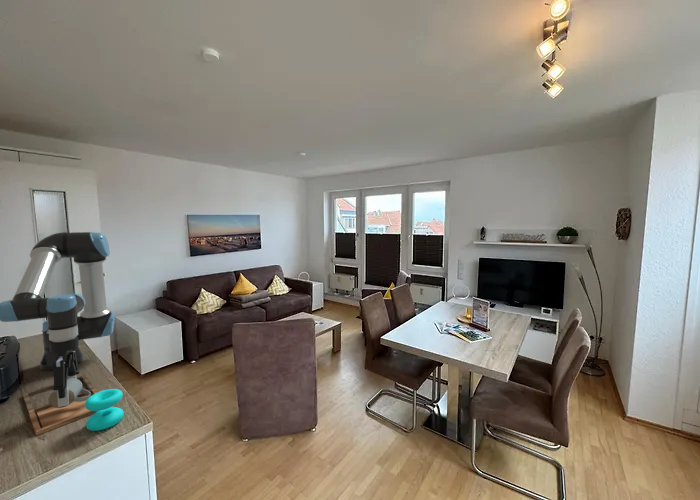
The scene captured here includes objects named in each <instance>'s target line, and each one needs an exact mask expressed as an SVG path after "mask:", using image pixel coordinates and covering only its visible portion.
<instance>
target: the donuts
mask: <svg viewBox="0 0 700 500" xmlns="http://www.w3.org/2000/svg"><path fill="white" fill-rule="evenodd" d="M91 395H92V396H90V397H89V398H88V399H87V400H86V402H85V408H86V409H88V410H90V411H98V412H96V413H94V414H91V415H90V416H89V418H88V419H87V420H86V424H85V427H86V429H87V430H89V431H93V432H95V431H96V432H98V431H105V430H106V429H110V428H112V427H113V426H116V425H117V424H118V423H120V422H121V420H122V419H123V418H124V415H125V413H124V410H123V409H122V408H120V407H116V405H117V404H118V403H120V401H121V400H122V398H123V397H124V393H123V391H122V390H121V389H118V388H110V389H109V388H108V389H103V390H100V391H98V393H95V394H94V395H93V394H91Z"/></svg>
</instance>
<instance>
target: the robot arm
mask: <svg viewBox="0 0 700 500" xmlns="http://www.w3.org/2000/svg"><path fill="white" fill-rule="evenodd" d="M109 256H110V244H109V241H108V238H107V235H105V234H104V233H103V232H94V231H85V232H80V231H79V232H75V231H74V232H67V231H66V232H56V233H53V234H50V235H48V236H45V238H43V239H40V241H38V242H37V243H36V244H35V245H34V246H33V247H32V249H31V251H30V253H29V257H30V261H29V263H28V265H27V268H26V269H25V272H24V274H23V275H22V278H21V280H20V283H19V284H18V287H17V289H16V291H15V293H14V295H13V297H12V299H8V300H4V301H1V302H0V322H3V323H8V322H21V321H29V320H31V321H32V320H37V319H38V320H39V319H46V320H44V322H43V323H42V330H41V332H42V340H43V343H42V344H43V354H42V357H41V359H40V363H39V370H41V371H45V372H46V371H53V384H54V388H53V389H52V391H55V390H57V399H58V407H61V406H66V405H69V393H68V386H67V378H75V379H77V377H78V376H77V375H80V370H79V366H78V365H79V363H80V362H82V361H83V360H84V353H83V352H82V350H81V348H80V346H79V345H80V341H82V340H84V341H85V340H91V339H97V338H98V339H99V338H103V337H109V336H111V335H112V334H113V332H114V329H115V323H116V322H115V321H116V313H115V312H114V311H111V308H109V307H108V306H107V299H106V298H107V297H106V288H105V278H104V277H105V276H104V268H103V266H104V265H103V263H104V262H105V261H106V260H107V257H109ZM64 258H65V259H66V258H68V259H69V258H71V259H72V258H73V262H74V263H75V264H76V265H78V271H79V278H80V288H81V294H78V293H68V294H66V293H65V294H57V295H53V296H50V297H44V295H45V293H46V290H47V289H48V285H49V282H50V279H51V277H52V276H53V275H52V274H53V272H54V269H55V267H56V264H57V263H60V261H61V260H62V259H64ZM82 310H83V311H82ZM81 311H82V312H81ZM80 312H81V313H80ZM78 313H80V315H79V316H78Z"/></svg>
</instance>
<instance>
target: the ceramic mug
mask: <svg viewBox="0 0 700 500" xmlns="http://www.w3.org/2000/svg"><path fill="white" fill-rule="evenodd" d="M82 382H83V381H82V380H78V379H75V378H67V386H68V393H69V404H71V403H72V402H73V401H76V402H82V401H86V400H87V399H88V398H89V397H90V395H92V394H91V392H90V391H88V390H89V389H85V388H83V383H82ZM79 393H84V394H86V395H87V397H84V398H79V397H77V396H78V394H79ZM47 400H48V404H50V405H51V406H52V407H55V408H62V407H66V406H68V405H66V406H61V407H58V399H57V390H55V391H53V390H52V392H51V393H50V395H49V397H48V399H47Z"/></svg>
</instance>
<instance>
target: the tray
mask: <svg viewBox="0 0 700 500" xmlns="http://www.w3.org/2000/svg"><path fill="white" fill-rule="evenodd" d="M76 377H77V379H78V380H80V381H82V382H83V384H85V386H86V387H87V388H88V389H87V390H88V391H90V392H91V395H90V396H92V395H94V394H95V393H98V392H99V391H98V390H97V389H96V388H95V386H94V385H93V384H92V382H91V381H90V380H89V379H88V377H87V376H86V374H85V375H80V376H76ZM53 389H54V383H53V384H50V385H47V386H43V387H40V388H37V389H35V390H30V391H27V392H24V393H22V398H23V401H24V404H25V407H26V410H27V413H28V415H29V418H30V422H31V424H32V427H33V431H34V433H35V436H38V435H42V434H45V433H47V432H49V431H52V430H56V428H59V427H62V426H65V425H68V424H70V423H73V422H75V421H78V420H80V419H83V418H85V417H86V418H87V417H88V416H89V417H90V416H92V415H93V414H95V413H96V412H98V411H90V410H88V409H86V408H85V402H86V401H82V402H76V401H73V402H72V403H71V404H69V405H68V406H66V407H62V408H55V407H52V406H51V405H50V404H49V403H47V404H44V405H41V406H40V405H39V406H38V407H34V406H33V404H32V401H31V398H30V396H33V395H34V396H35V395H37V394H39V393H43V392H46V391H49V390H53ZM77 397H79V398H84V397H87V395H86V394H84V393H79V394H78V396H77ZM37 416H38V418H37ZM38 419H39V420H38ZM40 425H41V426H40Z"/></svg>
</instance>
